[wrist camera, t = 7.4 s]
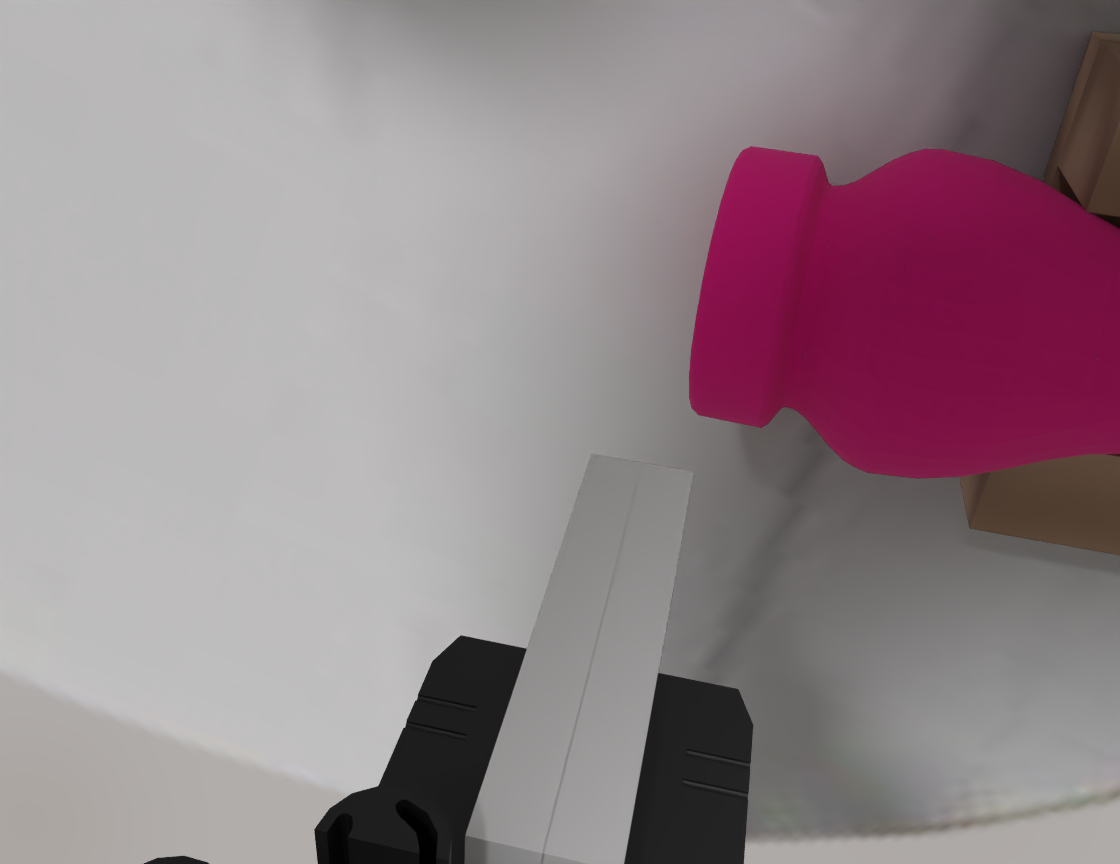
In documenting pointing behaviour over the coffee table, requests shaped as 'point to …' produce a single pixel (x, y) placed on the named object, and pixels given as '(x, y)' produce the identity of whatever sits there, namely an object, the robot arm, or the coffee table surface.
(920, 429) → the pepper mill
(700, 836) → the robot arm
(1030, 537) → the cradle
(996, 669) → the coffee table surface
